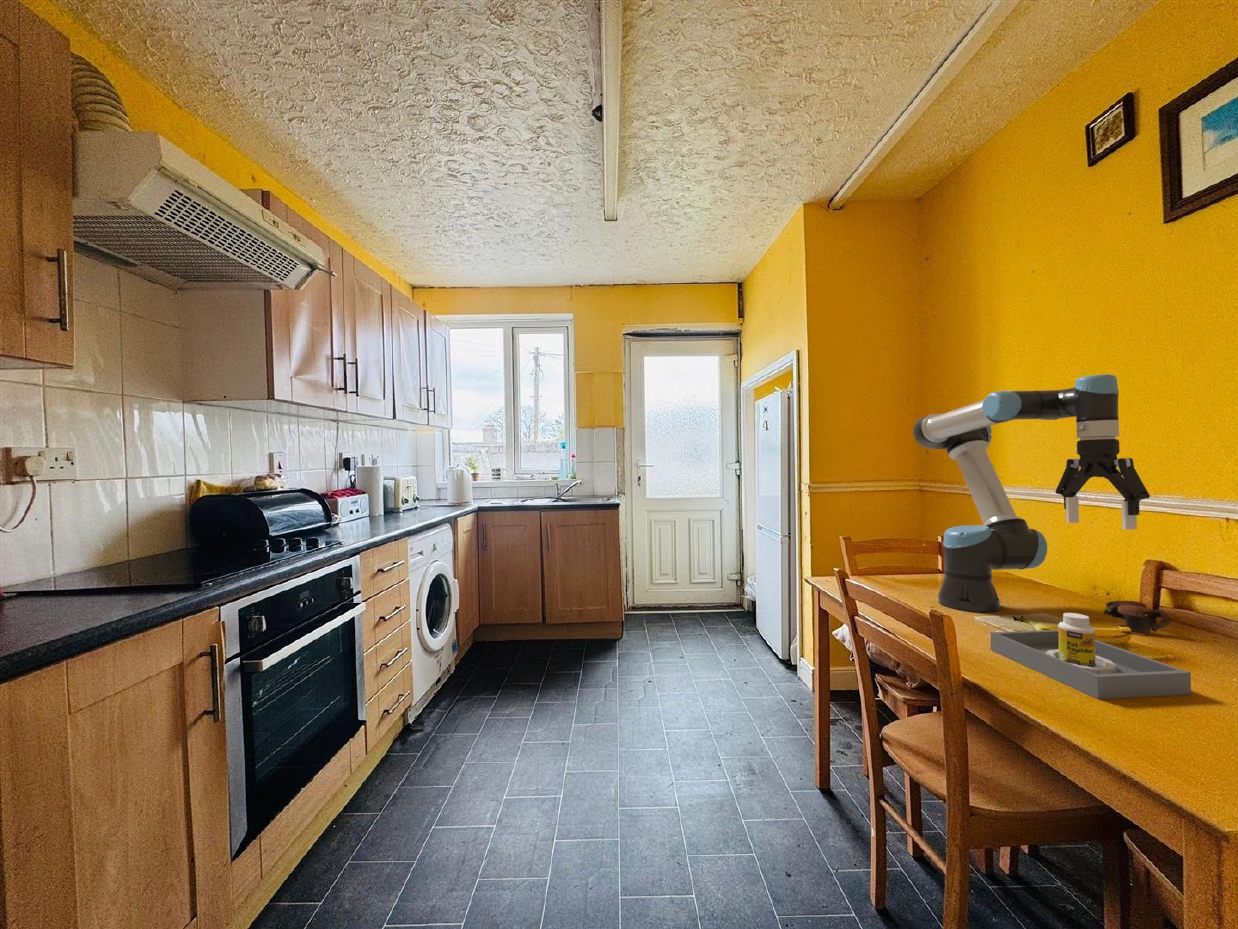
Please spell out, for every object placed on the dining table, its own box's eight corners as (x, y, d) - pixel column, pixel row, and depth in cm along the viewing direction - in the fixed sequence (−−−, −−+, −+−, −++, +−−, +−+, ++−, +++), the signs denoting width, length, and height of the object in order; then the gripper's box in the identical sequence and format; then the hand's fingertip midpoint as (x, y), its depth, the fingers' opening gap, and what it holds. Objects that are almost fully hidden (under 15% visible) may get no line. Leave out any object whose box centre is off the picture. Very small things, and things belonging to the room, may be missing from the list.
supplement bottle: (1063, 667, 101) (1061, 617, 101) (1055, 658, 106) (1054, 610, 106) (1100, 673, 98) (1099, 621, 98) (1090, 663, 103) (1089, 613, 103)
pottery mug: (1102, 631, 125) (1095, 599, 129) (1116, 642, 129) (1109, 610, 133) (1170, 631, 116) (1160, 596, 120) (1183, 642, 120) (1174, 608, 123)
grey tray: (990, 650, 113) (990, 632, 113) (1065, 646, 114) (1065, 629, 114) (1097, 699, 89) (1097, 677, 89) (1191, 694, 90) (1190, 672, 90)
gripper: (1037, 441, 134) (1039, 520, 134) (1139, 436, 109) (1141, 533, 109) (1063, 441, 134) (1065, 519, 134) (1171, 435, 109) (1173, 532, 109)
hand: (1099, 525), depth 121 cm, fingers open, 13 cm apart
